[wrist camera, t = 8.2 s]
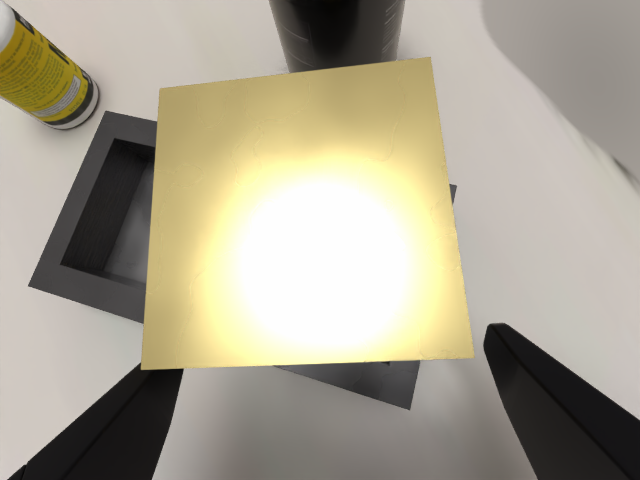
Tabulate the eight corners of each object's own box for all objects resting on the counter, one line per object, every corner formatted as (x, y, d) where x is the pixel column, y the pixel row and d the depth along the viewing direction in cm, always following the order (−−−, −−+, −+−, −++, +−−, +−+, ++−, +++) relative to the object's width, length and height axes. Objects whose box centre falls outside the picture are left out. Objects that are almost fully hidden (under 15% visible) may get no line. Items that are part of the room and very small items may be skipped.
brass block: (386, 320, 17) (474, 357, 5) (287, 324, 17) (140, 370, 5) (377, 223, 18) (430, 56, 6) (284, 230, 19) (159, 88, 6)
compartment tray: (397, 388, 17) (409, 410, 13) (84, 289, 20) (27, 285, 16) (437, 207, 18) (456, 185, 15) (144, 141, 21) (105, 110, 18)
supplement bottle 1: (112, 85, 23) (-22, -39, 15) (78, 139, 22) (-83, 42, 14) (62, 66, 24) (-91, -61, 15) (28, 118, 23) (-152, 14, 15)
